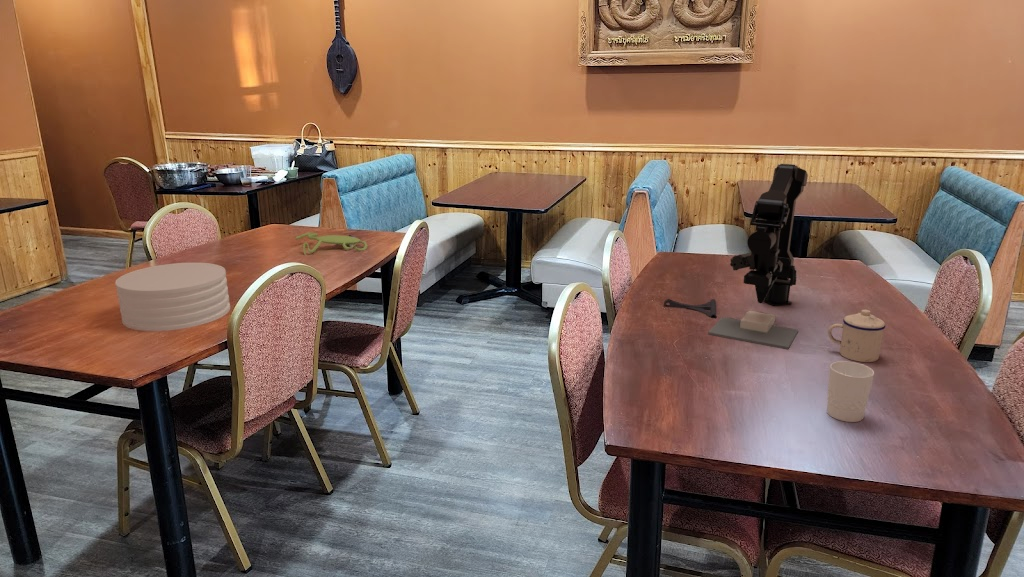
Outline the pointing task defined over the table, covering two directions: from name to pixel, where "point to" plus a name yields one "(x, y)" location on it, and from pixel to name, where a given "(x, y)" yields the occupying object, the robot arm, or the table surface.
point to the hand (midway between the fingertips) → (760, 302)
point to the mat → (754, 333)
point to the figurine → (332, 241)
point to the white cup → (848, 390)
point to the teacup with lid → (860, 336)
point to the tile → (757, 321)
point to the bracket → (695, 307)
